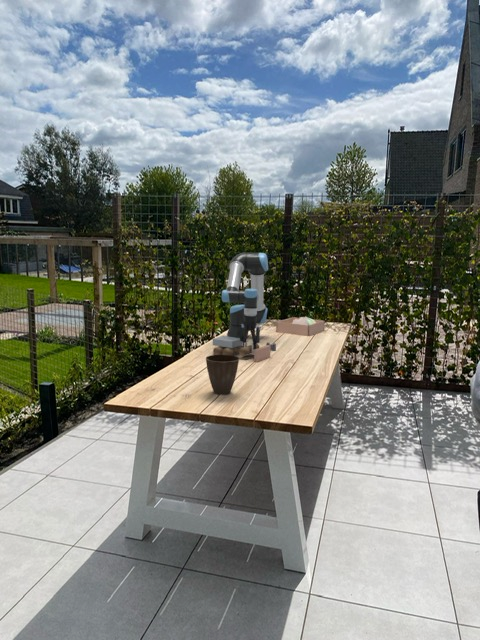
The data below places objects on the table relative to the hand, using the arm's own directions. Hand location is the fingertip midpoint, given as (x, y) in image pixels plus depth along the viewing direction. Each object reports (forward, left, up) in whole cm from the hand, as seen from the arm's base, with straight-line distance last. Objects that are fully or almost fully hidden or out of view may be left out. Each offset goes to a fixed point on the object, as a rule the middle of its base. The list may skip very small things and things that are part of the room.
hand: (249, 353), depth 293 cm
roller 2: (0, -12, -2) cm, 12 cm away
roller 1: (0, -18, -2) cm, 18 cm away
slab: (0, -16, +3) cm, 16 cm away
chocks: (0, -9, -2) cm, 9 cm away
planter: (-101, -13, -2) cm, 102 cm away
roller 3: (0, 0, 0) cm, 0 cm away
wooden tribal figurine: (-102, -13, -2) cm, 103 cm away
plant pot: (+68, +25, -2) cm, 73 cm away
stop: (0, +9, -2) cm, 9 cm away
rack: (-18, +1, -2) cm, 18 cm away
